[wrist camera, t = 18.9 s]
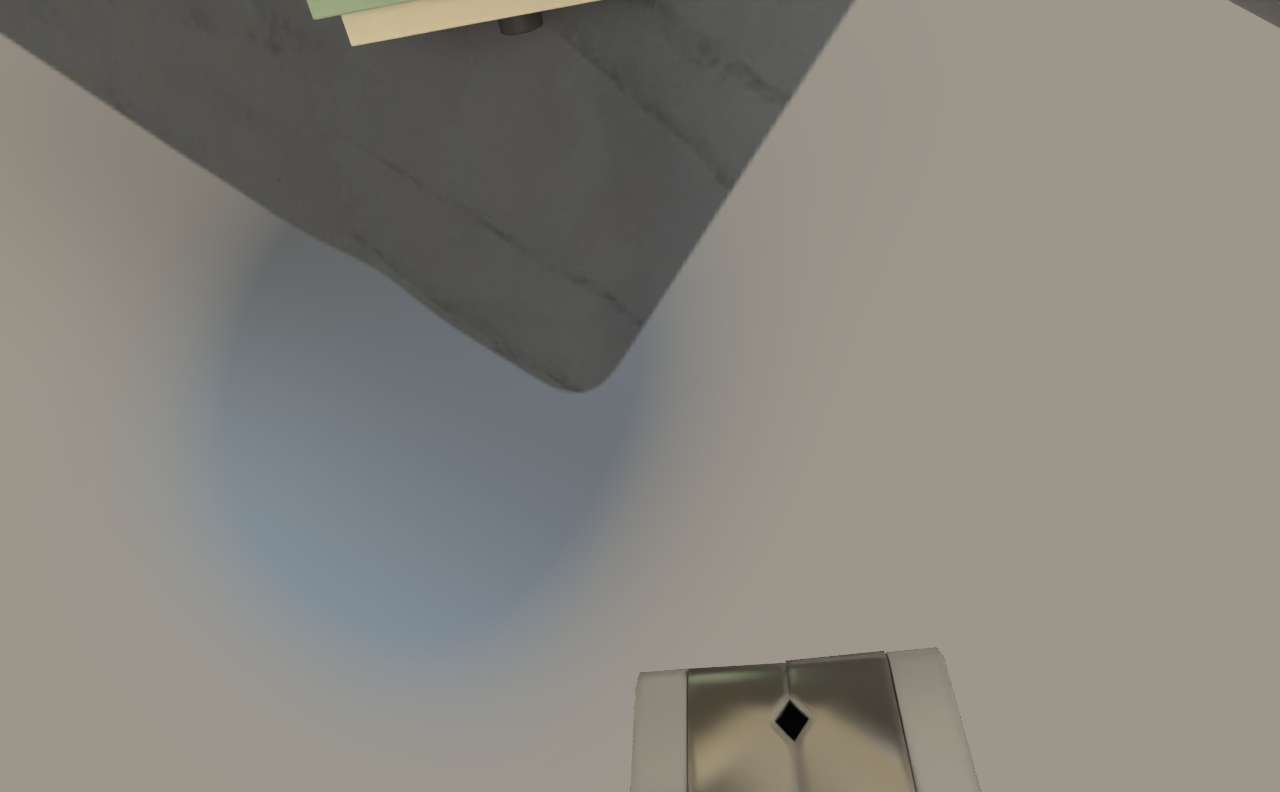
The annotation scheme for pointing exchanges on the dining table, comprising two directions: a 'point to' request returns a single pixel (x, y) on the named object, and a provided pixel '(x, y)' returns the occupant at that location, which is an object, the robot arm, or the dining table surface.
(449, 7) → the drawer
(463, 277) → the dining table surface
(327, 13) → the cabinet
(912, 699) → the robot arm
